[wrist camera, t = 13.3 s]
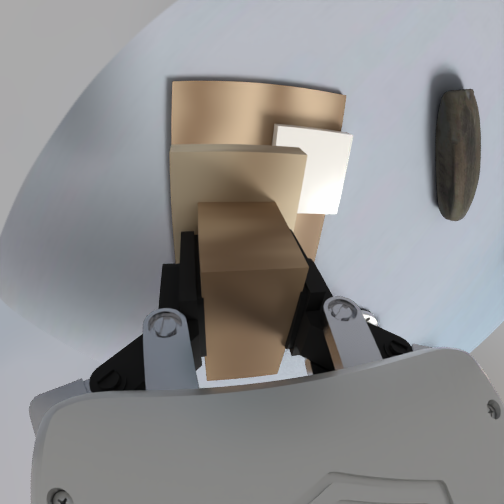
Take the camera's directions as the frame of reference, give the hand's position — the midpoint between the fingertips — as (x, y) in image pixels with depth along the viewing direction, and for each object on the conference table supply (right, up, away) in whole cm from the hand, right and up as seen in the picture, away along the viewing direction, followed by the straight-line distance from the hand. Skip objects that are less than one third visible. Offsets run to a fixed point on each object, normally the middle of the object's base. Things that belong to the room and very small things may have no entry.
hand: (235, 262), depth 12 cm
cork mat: (+1, +6, +15) cm, 16 cm away
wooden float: (0, +1, +1) cm, 2 cm away
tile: (+5, +4, +15) cm, 17 cm away
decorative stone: (+25, +13, +16) cm, 33 cm away
